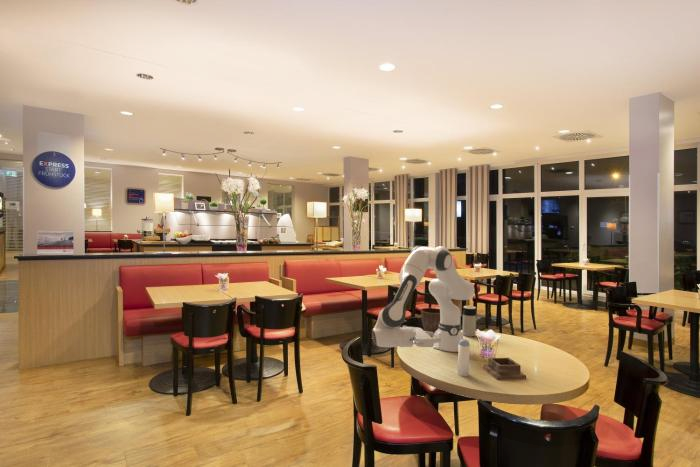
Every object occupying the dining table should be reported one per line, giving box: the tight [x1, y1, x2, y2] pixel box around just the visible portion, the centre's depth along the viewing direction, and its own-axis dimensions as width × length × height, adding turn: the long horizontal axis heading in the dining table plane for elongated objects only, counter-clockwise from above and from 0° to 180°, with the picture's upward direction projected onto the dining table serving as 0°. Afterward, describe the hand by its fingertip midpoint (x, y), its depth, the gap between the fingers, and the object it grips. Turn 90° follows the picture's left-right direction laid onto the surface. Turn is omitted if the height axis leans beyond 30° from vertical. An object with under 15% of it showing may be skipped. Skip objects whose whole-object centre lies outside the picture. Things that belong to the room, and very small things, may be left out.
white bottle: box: [457, 338, 471, 377], centre depth 182 cm, size 5×5×16 cm
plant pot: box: [420, 307, 440, 338], centre depth 244 cm, size 15×15×16 cm
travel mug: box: [461, 305, 477, 338], centre depth 247 cm, size 8×8×18 cm
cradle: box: [482, 357, 527, 381], centre depth 184 cm, size 14×14×6 cm
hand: (436, 336), depth 180 cm, fingers open, 8 cm apart
